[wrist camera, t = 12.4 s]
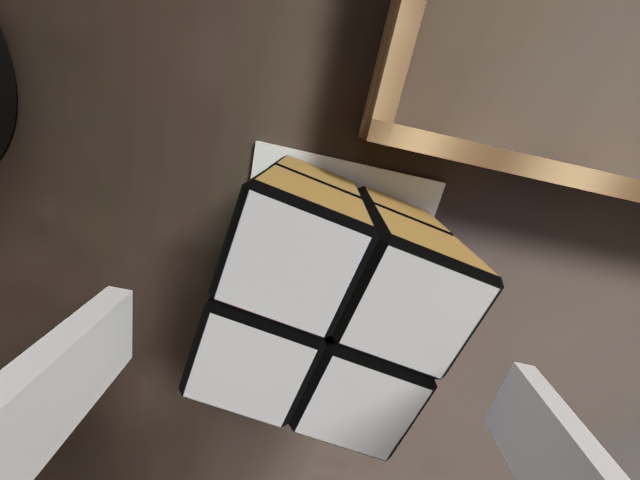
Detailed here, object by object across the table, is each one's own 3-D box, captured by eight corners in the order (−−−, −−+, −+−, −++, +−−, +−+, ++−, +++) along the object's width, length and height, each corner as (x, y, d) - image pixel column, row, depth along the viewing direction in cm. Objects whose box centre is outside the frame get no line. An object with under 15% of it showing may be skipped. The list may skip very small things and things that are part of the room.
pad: (233, 306, 24) (232, 308, 24) (257, 140, 20) (255, 140, 20) (390, 337, 24) (391, 340, 24) (443, 182, 20) (446, 183, 20)
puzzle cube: (366, 333, 24) (389, 468, 15) (237, 287, 23) (172, 400, 14) (430, 211, 21) (514, 283, 11) (283, 152, 20) (241, 176, 10)
